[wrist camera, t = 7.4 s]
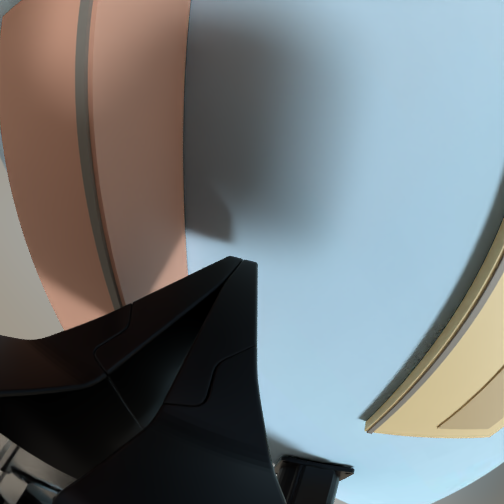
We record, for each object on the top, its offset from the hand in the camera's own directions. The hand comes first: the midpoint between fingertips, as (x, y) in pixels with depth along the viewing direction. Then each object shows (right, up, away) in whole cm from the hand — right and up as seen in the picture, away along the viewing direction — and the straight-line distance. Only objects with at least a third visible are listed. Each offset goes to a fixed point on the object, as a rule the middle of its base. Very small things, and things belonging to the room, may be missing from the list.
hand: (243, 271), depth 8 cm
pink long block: (-4, +1, +2) cm, 5 cm away
